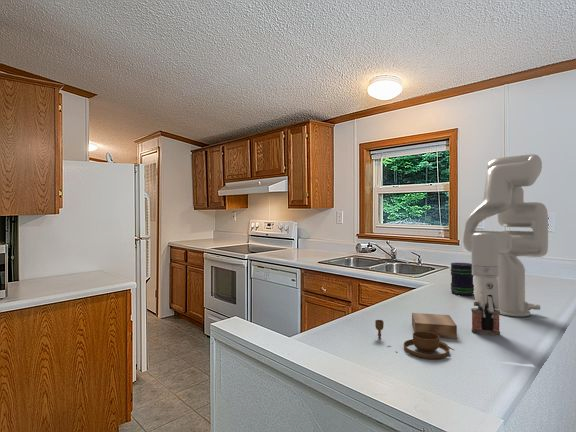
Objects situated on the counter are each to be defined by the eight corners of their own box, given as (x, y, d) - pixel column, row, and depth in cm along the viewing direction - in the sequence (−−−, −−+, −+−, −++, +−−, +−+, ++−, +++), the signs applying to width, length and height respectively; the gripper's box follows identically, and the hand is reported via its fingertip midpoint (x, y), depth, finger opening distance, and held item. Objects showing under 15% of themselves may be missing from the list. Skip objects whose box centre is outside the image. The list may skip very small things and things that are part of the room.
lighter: (498, 332, 111) (498, 301, 111) (501, 336, 108) (501, 304, 108) (470, 330, 114) (470, 299, 114) (472, 333, 110) (472, 302, 111)
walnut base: (449, 326, 117) (449, 315, 117) (456, 338, 106) (456, 325, 106) (411, 324, 120) (411, 312, 120) (415, 335, 109) (415, 322, 109)
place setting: (412, 365, 88) (411, 342, 89) (371, 339, 108) (371, 320, 108) (467, 356, 94) (467, 335, 94) (419, 333, 113) (419, 315, 113)
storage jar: (475, 294, 166) (474, 263, 166) (473, 298, 158) (472, 265, 158) (452, 292, 171) (451, 262, 171) (449, 296, 163) (449, 264, 163)
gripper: (507, 275, 102) (507, 337, 102) (490, 267, 118) (490, 321, 118) (479, 274, 104) (479, 335, 104) (466, 267, 120) (466, 320, 120)
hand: (485, 327), depth 111 cm, fingers closed on lighter, 3 cm apart
